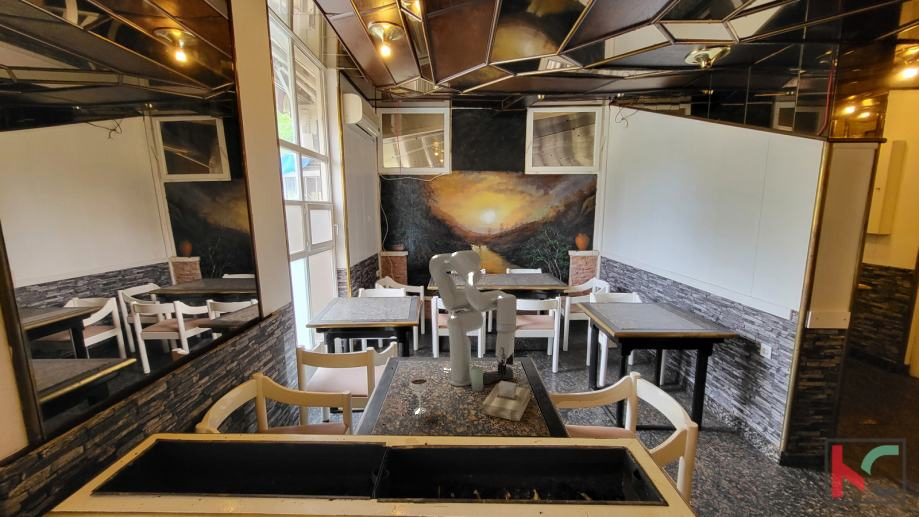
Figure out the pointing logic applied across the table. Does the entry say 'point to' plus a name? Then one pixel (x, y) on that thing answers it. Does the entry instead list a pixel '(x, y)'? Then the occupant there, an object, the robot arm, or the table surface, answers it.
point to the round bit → (477, 379)
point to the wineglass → (419, 391)
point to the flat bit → (507, 390)
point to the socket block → (506, 404)
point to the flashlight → (497, 375)
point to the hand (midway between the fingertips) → (505, 369)
